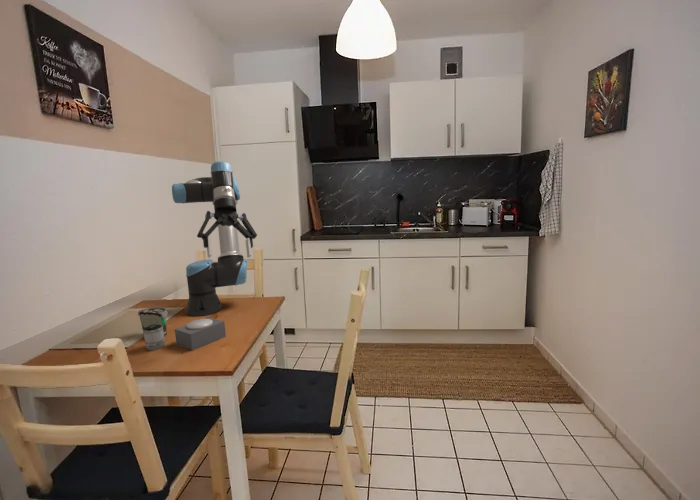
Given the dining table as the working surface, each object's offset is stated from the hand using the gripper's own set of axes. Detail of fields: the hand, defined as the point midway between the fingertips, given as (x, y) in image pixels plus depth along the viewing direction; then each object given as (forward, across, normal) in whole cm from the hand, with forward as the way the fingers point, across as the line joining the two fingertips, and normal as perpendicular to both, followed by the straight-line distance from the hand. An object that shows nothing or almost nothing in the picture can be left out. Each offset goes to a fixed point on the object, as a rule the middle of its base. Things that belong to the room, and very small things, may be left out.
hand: (230, 256), depth 130 cm
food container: (+16, -18, +44) cm, 50 cm away
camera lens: (+23, -21, +31) cm, 44 cm away
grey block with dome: (+24, -6, +26) cm, 36 cm away
